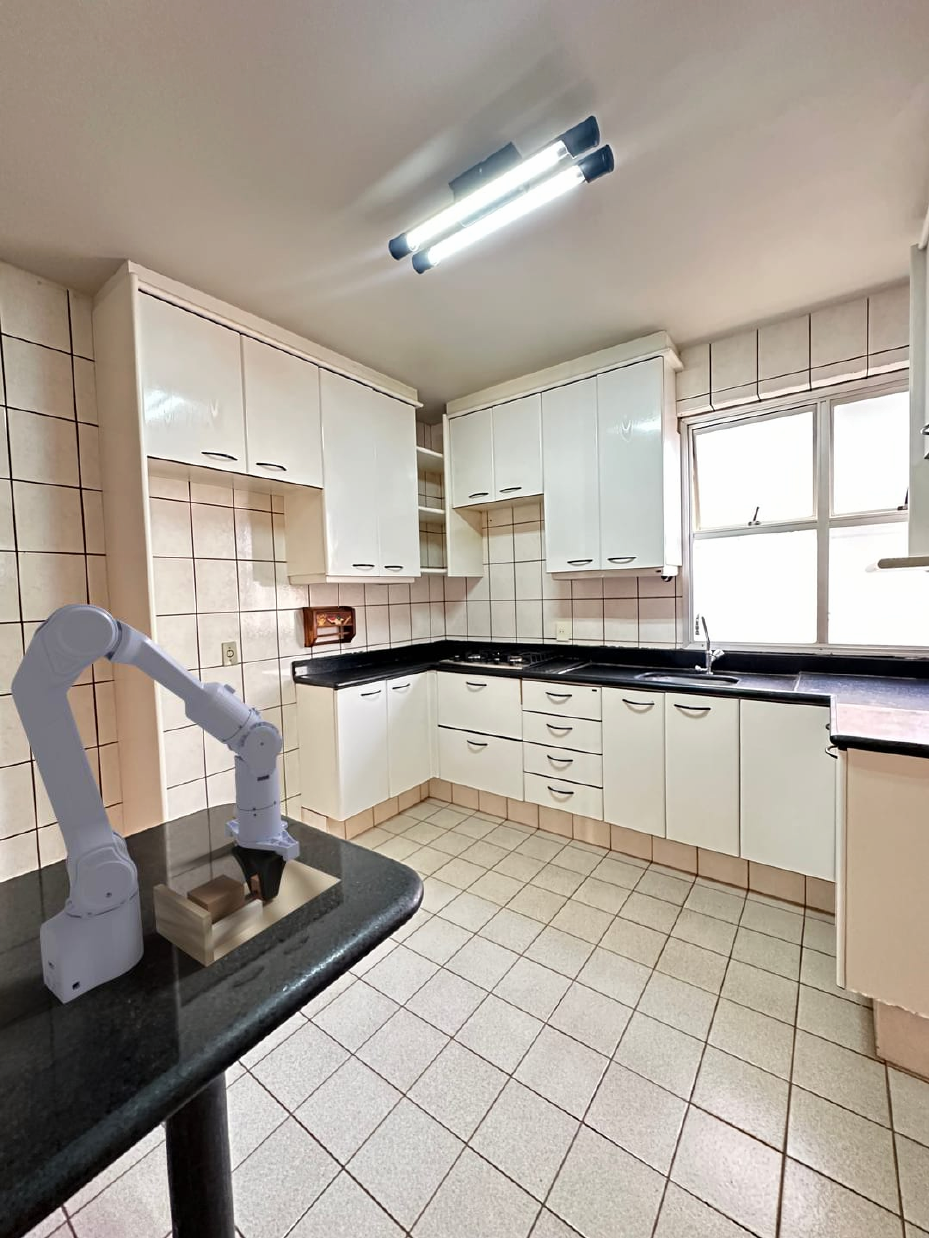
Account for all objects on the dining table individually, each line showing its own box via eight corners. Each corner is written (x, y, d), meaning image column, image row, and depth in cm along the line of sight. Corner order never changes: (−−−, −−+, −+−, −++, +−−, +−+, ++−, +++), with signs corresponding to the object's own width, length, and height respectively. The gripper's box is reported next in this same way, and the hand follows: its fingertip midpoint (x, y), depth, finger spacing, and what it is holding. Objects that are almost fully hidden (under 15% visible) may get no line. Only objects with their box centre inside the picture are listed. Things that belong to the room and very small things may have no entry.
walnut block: (210, 942, 66) (207, 904, 65) (189, 928, 69) (186, 892, 68) (282, 898, 75) (280, 864, 74) (261, 888, 77) (259, 855, 77)
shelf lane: (206, 972, 62) (202, 917, 61) (157, 936, 69) (153, 887, 68) (341, 884, 79) (339, 841, 79) (291, 863, 86) (288, 823, 85)
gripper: (314, 802, 73) (320, 895, 74) (253, 783, 81) (258, 867, 82) (271, 822, 67) (277, 922, 68) (209, 799, 76) (216, 889, 77)
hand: (264, 894), depth 75 cm, fingers closed on walnut block, 2 cm apart
